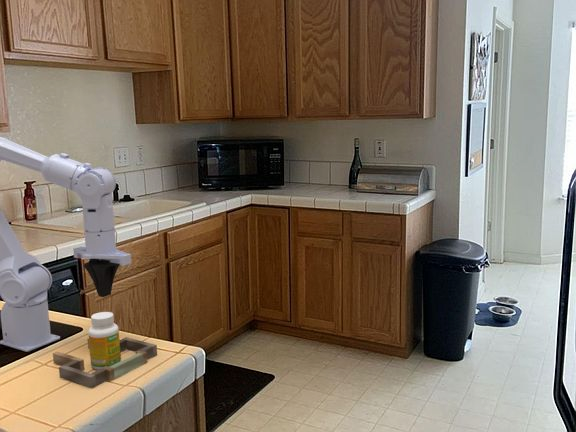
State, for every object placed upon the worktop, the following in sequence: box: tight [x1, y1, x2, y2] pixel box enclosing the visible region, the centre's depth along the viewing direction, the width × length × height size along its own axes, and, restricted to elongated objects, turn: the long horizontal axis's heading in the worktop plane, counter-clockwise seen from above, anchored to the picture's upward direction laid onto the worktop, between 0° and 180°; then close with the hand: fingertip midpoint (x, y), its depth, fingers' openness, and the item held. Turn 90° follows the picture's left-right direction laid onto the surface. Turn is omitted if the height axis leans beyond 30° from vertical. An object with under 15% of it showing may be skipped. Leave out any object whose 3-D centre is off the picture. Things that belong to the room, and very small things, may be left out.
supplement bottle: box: [87, 311, 122, 371], centre depth 104 cm, size 5×5×10 cm
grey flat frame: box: [52, 336, 158, 389], centre depth 105 cm, size 16×16×2 cm
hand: (104, 295), depth 113 cm, fingers closed
